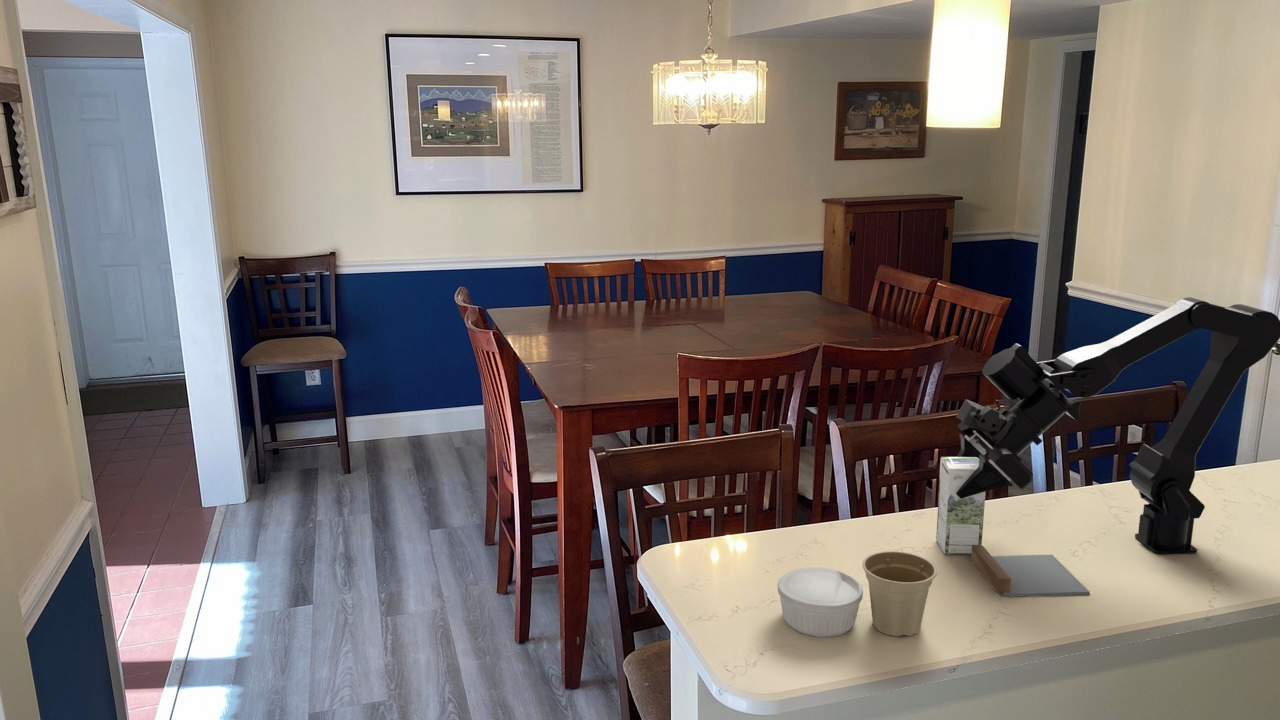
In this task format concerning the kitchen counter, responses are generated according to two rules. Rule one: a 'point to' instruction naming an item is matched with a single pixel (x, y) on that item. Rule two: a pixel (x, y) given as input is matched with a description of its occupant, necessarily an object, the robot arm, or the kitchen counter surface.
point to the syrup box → (958, 508)
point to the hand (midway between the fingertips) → (952, 488)
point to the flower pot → (898, 590)
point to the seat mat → (1039, 576)
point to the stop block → (990, 569)
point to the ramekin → (819, 601)
